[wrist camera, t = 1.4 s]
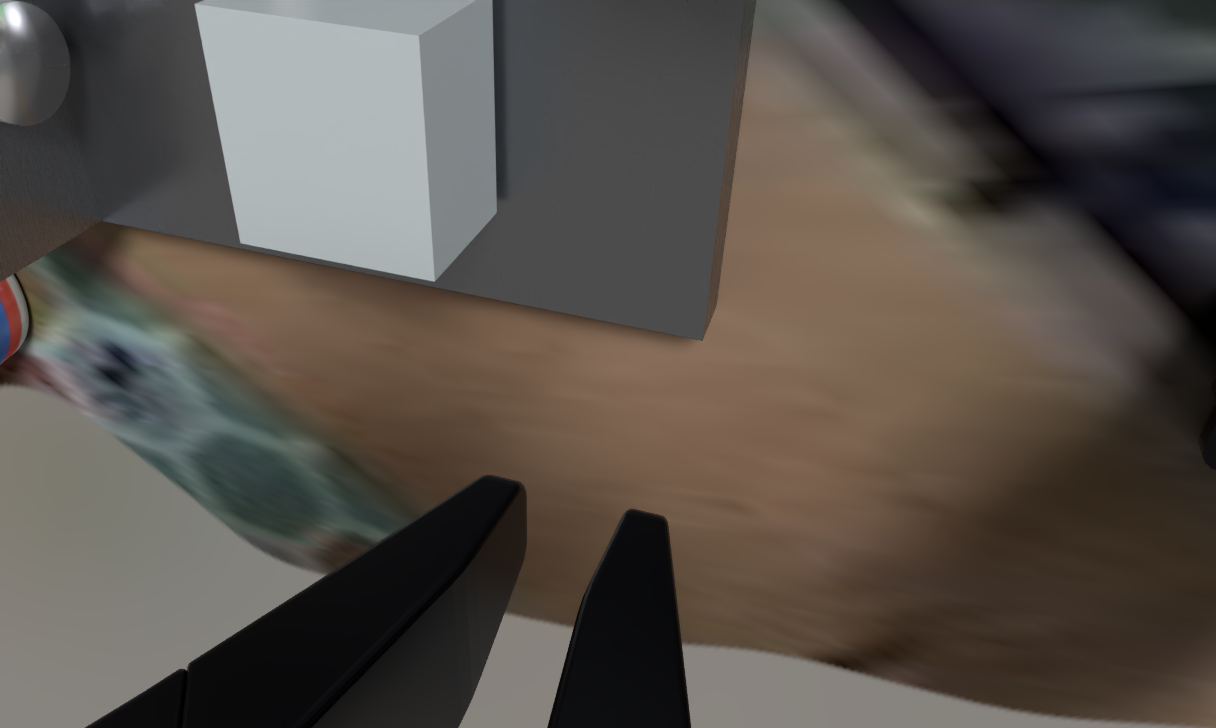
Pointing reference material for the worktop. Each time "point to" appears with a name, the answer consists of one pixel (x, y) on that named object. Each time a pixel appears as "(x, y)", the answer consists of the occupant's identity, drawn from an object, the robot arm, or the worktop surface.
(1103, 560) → the worktop surface
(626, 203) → the gauge base
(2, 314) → the pill bottle
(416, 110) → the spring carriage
